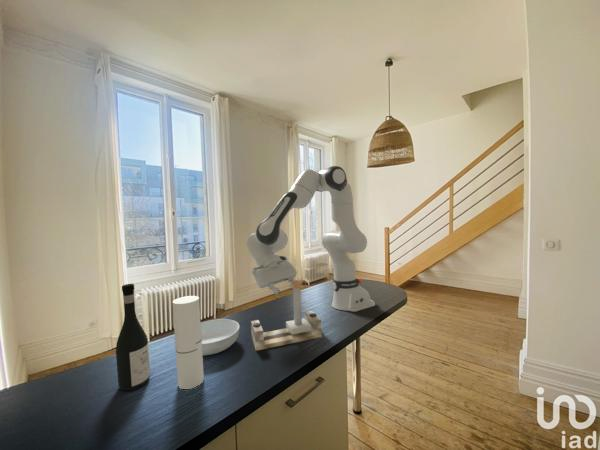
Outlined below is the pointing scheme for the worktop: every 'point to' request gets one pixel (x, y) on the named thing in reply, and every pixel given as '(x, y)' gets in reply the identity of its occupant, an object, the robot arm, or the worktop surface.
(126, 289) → the wine bottle
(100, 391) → the worktop surface
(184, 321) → the cylindrical container
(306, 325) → the carriage
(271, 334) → the rail
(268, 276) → the robot arm
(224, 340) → the serving bowl
